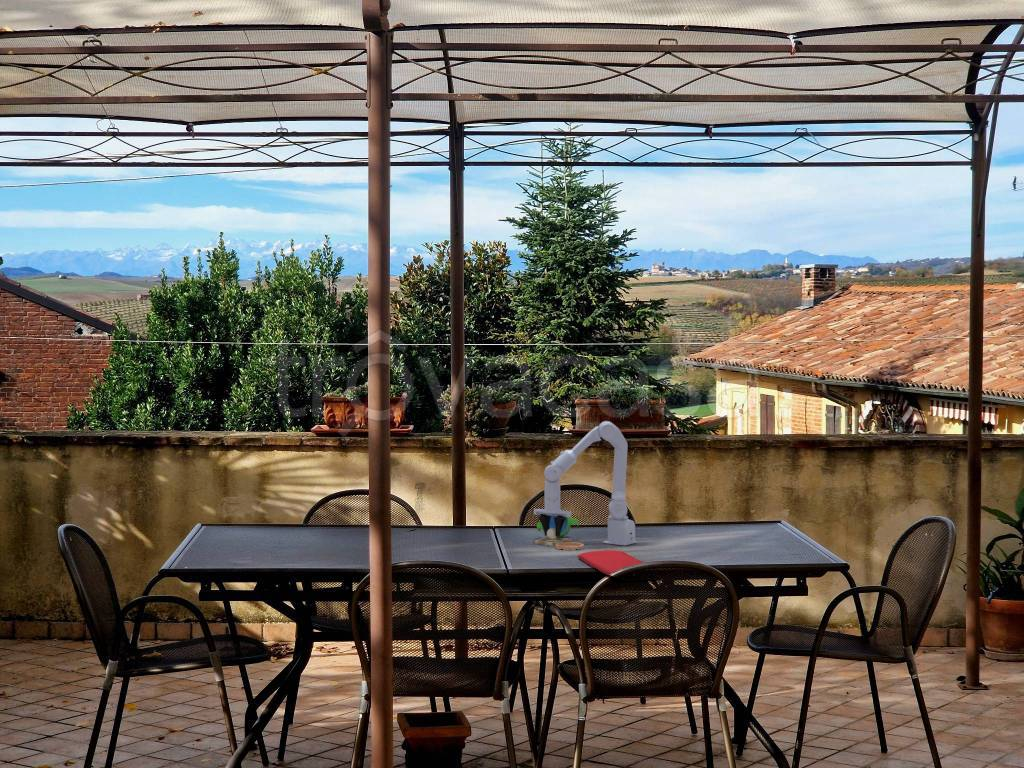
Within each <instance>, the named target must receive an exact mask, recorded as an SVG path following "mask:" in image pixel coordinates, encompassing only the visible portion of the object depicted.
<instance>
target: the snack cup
mask: <svg viewBox="0 0 1024 768" xmlns="http://www.w3.org/2000/svg"><path fill="white" fill-rule="evenodd" d="M560 510H563V509H561V508H560ZM556 515H557V514H556ZM554 517H557V516H551V518H550V526H549V527H550V528H555V521H554ZM572 525H577V527H579V525H580V524H579V518H578V519H577V518H574V517H566V520H565V522H564V524H563V527H562V530H561V534H560V536H558V537H559V538H564V537H566V536H567V535H568V534H569V533H570V531H571V526H572ZM536 529H537V531H538V532H541V530H542V531H543V532H544V530H543V526H542V524H541V522H540V521H538V522H537V523H536ZM555 529H556V528H555Z"/></svg>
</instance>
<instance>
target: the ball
mask: <svg viewBox="0 0 1024 768" xmlns="http://www.w3.org/2000/svg"><path fill="white" fill-rule="evenodd" d="M547 538H550V539H555V538H556V534H555V528H550V529H549V530H548V531H547Z"/></svg>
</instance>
